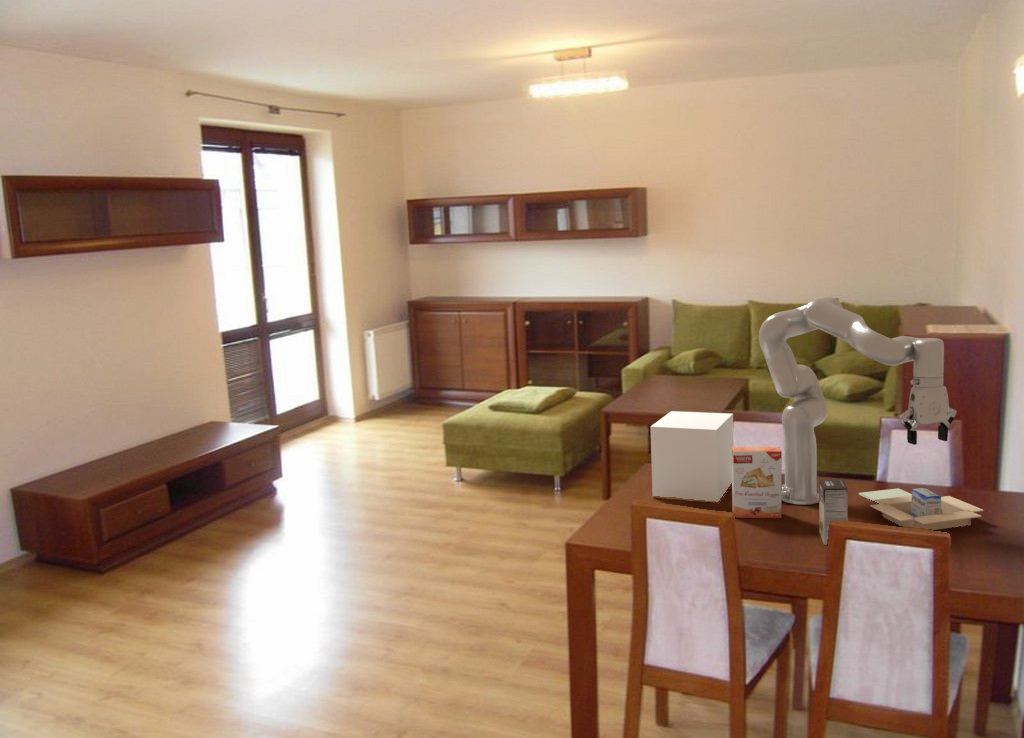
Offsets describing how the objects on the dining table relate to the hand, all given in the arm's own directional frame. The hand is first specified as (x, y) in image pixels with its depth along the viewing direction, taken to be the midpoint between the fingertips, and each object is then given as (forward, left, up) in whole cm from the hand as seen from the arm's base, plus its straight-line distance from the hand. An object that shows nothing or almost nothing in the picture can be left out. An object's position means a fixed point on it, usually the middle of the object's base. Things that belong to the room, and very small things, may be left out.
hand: (927, 441), depth 237 cm
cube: (-49, +51, -24) cm, 75 cm away
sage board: (+4, +21, -23) cm, 32 cm away
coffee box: (-32, -5, -24) cm, 40 cm away
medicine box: (0, 0, -24) cm, 24 cm away
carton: (0, 0, -23) cm, 23 cm away
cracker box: (-42, +20, -24) cm, 52 cm away
